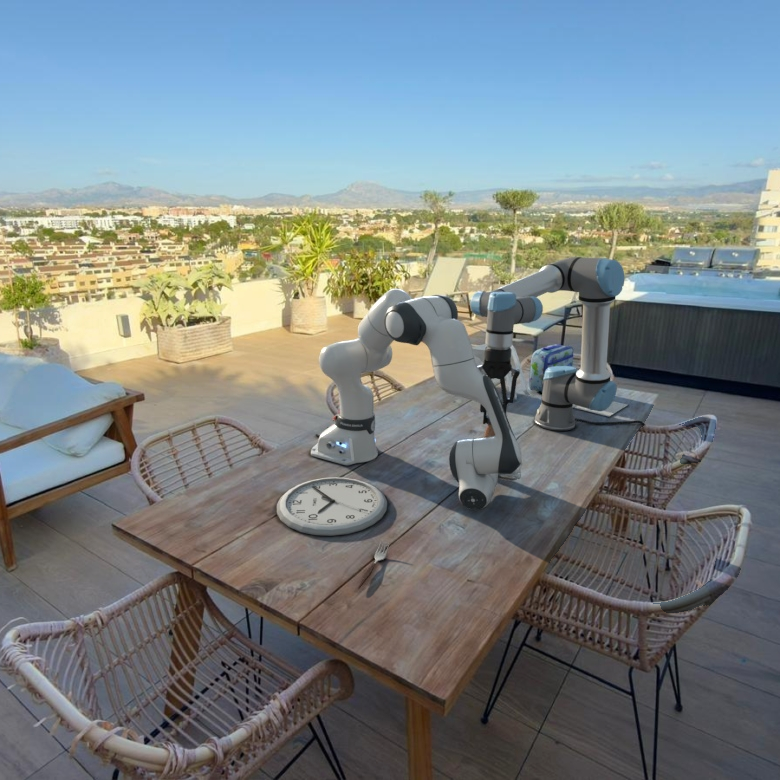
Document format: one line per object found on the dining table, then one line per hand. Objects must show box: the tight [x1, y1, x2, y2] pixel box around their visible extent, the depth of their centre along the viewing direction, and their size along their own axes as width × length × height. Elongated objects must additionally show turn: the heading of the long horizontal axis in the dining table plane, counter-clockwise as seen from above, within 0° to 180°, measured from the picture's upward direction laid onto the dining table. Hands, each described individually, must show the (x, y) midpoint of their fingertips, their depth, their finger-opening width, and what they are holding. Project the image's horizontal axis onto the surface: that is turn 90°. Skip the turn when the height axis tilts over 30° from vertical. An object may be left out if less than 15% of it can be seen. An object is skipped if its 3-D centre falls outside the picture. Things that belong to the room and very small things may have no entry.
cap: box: [485, 414, 491, 425], centre depth 156 cm, size 4×4×2 cm
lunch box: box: [528, 344, 574, 393], centre depth 247 cm, size 26×11×21 cm, turn 134°
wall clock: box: [276, 476, 388, 537], centre depth 142 cm, size 30×2×30 cm
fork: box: [357, 541, 391, 589], centre depth 116 cm, size 3×16×2 cm, turn 160°
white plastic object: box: [472, 343, 531, 400], centre depth 245 cm, size 37×45×31 cm
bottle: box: [483, 424, 495, 438], centre depth 159 cm, size 4×4×19 cm
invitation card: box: [573, 400, 629, 418], centre depth 226 cm, size 21×1×15 cm
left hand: (489, 455), depth 161 cm, fingers closed on bottle, 4 cm apart
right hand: (492, 423), depth 157 cm, fingers closed on cap, 4 cm apart
